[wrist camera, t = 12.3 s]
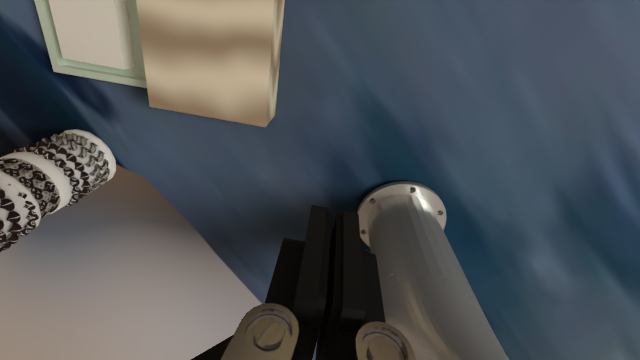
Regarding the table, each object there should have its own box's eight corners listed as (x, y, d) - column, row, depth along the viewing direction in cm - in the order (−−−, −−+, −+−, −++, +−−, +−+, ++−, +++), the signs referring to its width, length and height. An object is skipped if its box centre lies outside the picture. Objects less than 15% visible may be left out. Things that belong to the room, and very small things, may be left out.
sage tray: (168, 88, 36) (161, 90, 34) (65, 70, 35) (53, 71, 34) (157, -29, 30) (148, -32, 28) (34, -51, 30) (19, -55, 28)
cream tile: (62, 58, 32) (77, 56, 34) (124, 69, 32) (135, 67, 34) (41, -28, 28) (59, -25, 30) (111, -15, 29) (124, -12, 30)
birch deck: (274, 115, 36) (265, 127, 32) (173, 97, 36) (149, 106, 32) (286, -17, 30) (275, -25, 25) (161, -40, 29) (129, -52, 25)
